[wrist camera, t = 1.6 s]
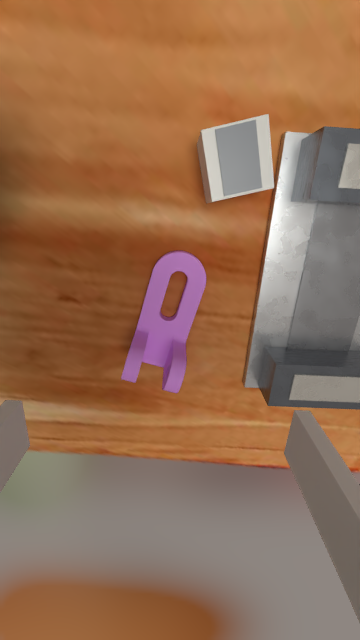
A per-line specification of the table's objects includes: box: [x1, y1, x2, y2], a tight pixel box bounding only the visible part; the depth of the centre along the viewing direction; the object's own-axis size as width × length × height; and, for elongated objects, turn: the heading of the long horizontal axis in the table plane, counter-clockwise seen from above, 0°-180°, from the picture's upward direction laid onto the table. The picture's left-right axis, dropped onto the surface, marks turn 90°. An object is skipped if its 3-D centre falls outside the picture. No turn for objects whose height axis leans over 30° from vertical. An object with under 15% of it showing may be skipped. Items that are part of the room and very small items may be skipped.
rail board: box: [243, 127, 360, 409], centre depth 28 cm, size 15×26×5 cm, turn 177°
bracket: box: [121, 251, 206, 393], centre depth 28 cm, size 13×6×7 cm, turn 163°
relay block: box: [197, 114, 274, 203], centre depth 24 cm, size 5×5×5 cm
